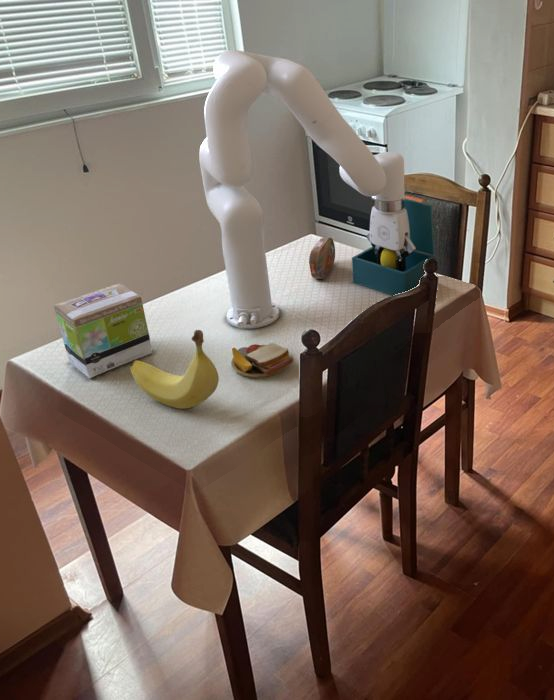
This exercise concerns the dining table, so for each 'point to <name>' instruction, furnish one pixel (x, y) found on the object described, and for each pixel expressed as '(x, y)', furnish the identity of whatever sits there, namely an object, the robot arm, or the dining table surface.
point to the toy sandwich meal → (260, 360)
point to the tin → (322, 258)
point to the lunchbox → (388, 272)
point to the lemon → (389, 258)
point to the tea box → (103, 329)
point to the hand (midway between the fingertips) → (391, 268)
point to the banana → (179, 380)
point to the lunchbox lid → (420, 224)
